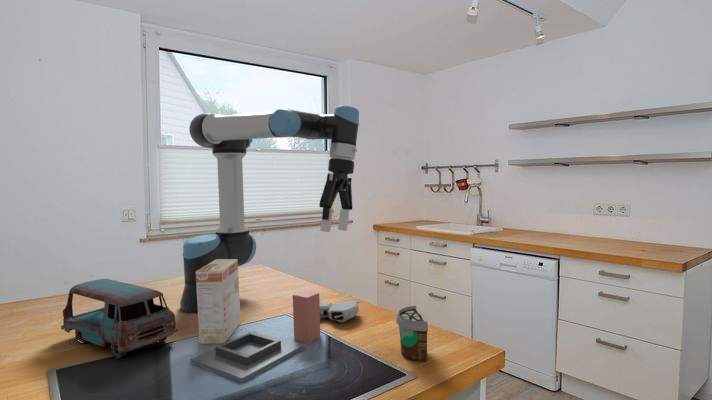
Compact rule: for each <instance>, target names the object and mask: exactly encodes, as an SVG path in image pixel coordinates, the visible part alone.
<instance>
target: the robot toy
mask: <svg viewBox="0 0 712 400" xmlns="http://www.w3.org/2000/svg"><path fill="white" fill-rule="evenodd" d="M360 303H362V300H360V301H357V302H356V301H355V300H353V301H352V300H343V301H339V302H336V303H333V304H332V303H331V302H320V319H325V318H329V320H332V321H336V322H338V323H341V324H342V323H345V322H347V320H351V319H352V318H354V317H356V316H357V315H358V313H359V311H360V310H359V309H360V308H359V304H360Z"/></svg>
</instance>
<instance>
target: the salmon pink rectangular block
mask: <svg viewBox="0 0 712 400" xmlns="http://www.w3.org/2000/svg"><path fill="white" fill-rule="evenodd" d="M320 303H321V302H320V292H318V291H317V292H316V291H311V290H305V289H304V290H302V291H300V292H297V293H294V294H292V311H293V312H292V313H293V314H292V315H293V340H296V341H297V340H298V341H301V342H304V343H311V342H313V341H315V340H316V339H319V338H320V337H321V318H320Z"/></svg>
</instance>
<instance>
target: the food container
mask: <svg viewBox="0 0 712 400" xmlns="http://www.w3.org/2000/svg"><path fill="white" fill-rule="evenodd" d="M395 322H396V324H397V325H398V327H399V328H398V329H399V340H400V350H401V355H402V357H403V358H404V359H406V360H408V361H412V362H416V363H417V362H418V363H427V362H428V360H427V359H428V355H427V354H428V332H429V325H428V321H426V320H425V321H424V318H423V317H422V315H421V314H420V313H419V311H418V310H417V305H410V306H404V307H403V308H401V309H399V310H398V312H397V314H396V319H395Z"/></svg>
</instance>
